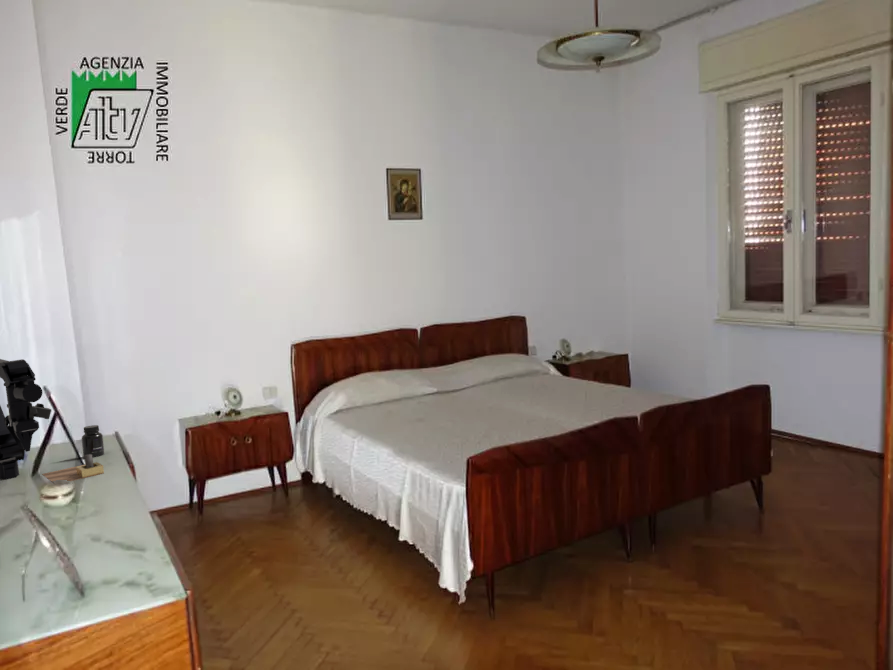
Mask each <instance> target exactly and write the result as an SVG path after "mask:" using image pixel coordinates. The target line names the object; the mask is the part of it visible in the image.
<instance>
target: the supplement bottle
mask: <svg viewBox="0 0 893 670" xmlns="http://www.w3.org/2000/svg"><path fill="white" fill-rule="evenodd" d="M83 433H84V434H83V435H82V436H81V448H82V457H83V459H85V455H89V454H92V458H94V459H95V458H98V457H101V456H104V455H105V445H104V437H103V436H104V435H103V434H102V433H101V432H100V429H99V425H97V424H96V425H95V424H94V425H92V424H91V425H87V426H84V427H83Z"/></svg>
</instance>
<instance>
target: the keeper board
mask: <svg viewBox="0 0 893 670" xmlns="http://www.w3.org/2000/svg"><path fill="white" fill-rule="evenodd" d="M84 462H85V463H84V465H86V468H90V467H93V463H94V460H93V458H92V454H89V455H85V458H84ZM82 465H83V464H82ZM82 465H77V466H72V467H67V468H63V469H59V470H55V471H50V472H45V473H41V474H42V476H44V478H46V479H48V480H49V481H50V482H51V483H53V481H56V480H67V481H70V482H75V481H78V480H83V479H86V478H91V477H95V476H99V475H103V474H105V472H104V473H101V474H96V475H92V476H88V477H84V478H82V477H81V476H79V475H77V471H76V467H78V466H82Z"/></svg>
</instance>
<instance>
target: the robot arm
mask: <svg viewBox="0 0 893 670" xmlns="http://www.w3.org/2000/svg"><path fill="white" fill-rule="evenodd" d="M0 379H2V380H3V387H5V392H6V400H7V404H6V408H7V409H8V414H7V415H6V416H5V413H4V411H3V408H2V406H1V405H0V480H11V479H15V478H17V477H18V476H20V468H19V461H23V460H25V455H26V454H25V452H30V451H31V446H32V440H33V435H34V434H35V433H36V432H37V431H38V430H39V429H40V422H39V421H38V420H37V419H35V418H41V419H45V420H49V419H50V416H51V413H52V409H51V408H48V407H45V405H44V404H43V403H38V401H39V400H40V399H41V398H42V396H43V389H42V387H41V386H40V385H39V384H37V383H35V381H36V374H35V373H34V371H33V369H32V368H31V366H30V364H29V363H28V362H27V361H26V360H25V359H17V360H6V359H1V358H0ZM35 402H37V403H36V404H35V405H33V403H35Z"/></svg>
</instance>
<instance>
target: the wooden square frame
mask: <svg viewBox="0 0 893 670" xmlns="http://www.w3.org/2000/svg"><path fill="white" fill-rule="evenodd" d="M77 466H78V467H76V466H75V467H76V471H77V475H79V476H81V477H82V478H83V479H85V478H84V477H87V478H89V477H88V476H91V477H93V476H92V475H96V474H100V475H102V474H101V473H104V474H105V471H104V465H103V464H101V463H99V462H97V461H96V462H93V467H90V468H86V465H85V464H82V466H80V465H77ZM96 476H97V475H96Z"/></svg>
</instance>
